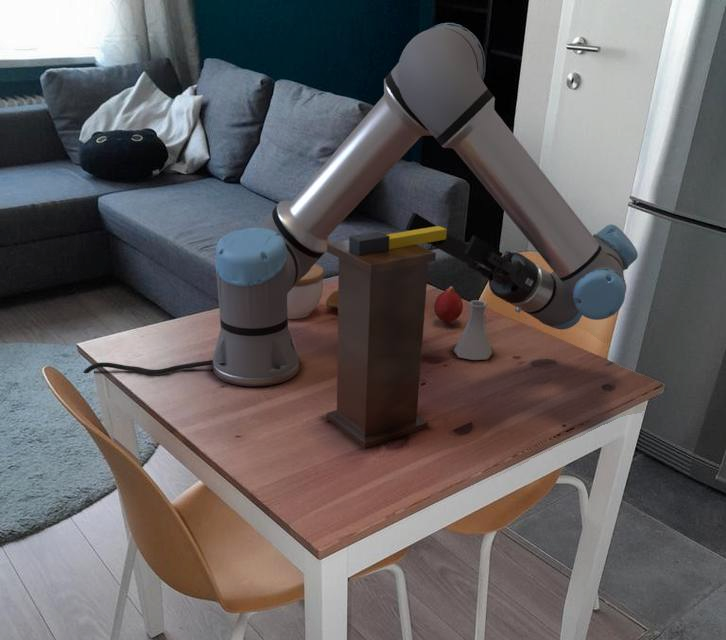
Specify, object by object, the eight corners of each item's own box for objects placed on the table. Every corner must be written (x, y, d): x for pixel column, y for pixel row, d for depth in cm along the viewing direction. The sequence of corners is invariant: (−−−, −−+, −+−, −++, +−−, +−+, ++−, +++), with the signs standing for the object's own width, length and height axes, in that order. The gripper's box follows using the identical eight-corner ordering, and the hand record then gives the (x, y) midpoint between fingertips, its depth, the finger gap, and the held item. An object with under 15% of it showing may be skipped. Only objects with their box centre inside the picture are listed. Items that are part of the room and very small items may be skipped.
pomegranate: (427, 324, 163) (430, 286, 158) (441, 316, 167) (444, 279, 162) (452, 331, 160) (456, 293, 156) (466, 323, 164) (470, 285, 160)
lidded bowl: (336, 313, 166) (336, 261, 160) (289, 329, 159) (288, 274, 153) (297, 297, 174) (296, 247, 168) (250, 311, 166) (248, 258, 160)
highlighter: (436, 235, 118) (437, 221, 117) (447, 240, 116) (448, 226, 115) (348, 250, 110) (349, 236, 109) (359, 255, 108) (359, 241, 107)
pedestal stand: (386, 400, 134) (394, 231, 119) (427, 428, 127) (441, 251, 111) (326, 418, 128) (326, 243, 113) (365, 448, 121) (371, 265, 105)
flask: (491, 347, 154) (497, 297, 149) (492, 362, 148) (499, 311, 143) (453, 344, 155) (458, 295, 149) (453, 360, 149) (458, 308, 143)
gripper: (564, 328, 124) (484, 281, 109) (460, 281, 141) (378, 235, 126) (589, 283, 122) (510, 229, 107) (480, 241, 139) (399, 189, 124)
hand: (438, 232), depth 116 cm, fingers open, 13 cm apart
